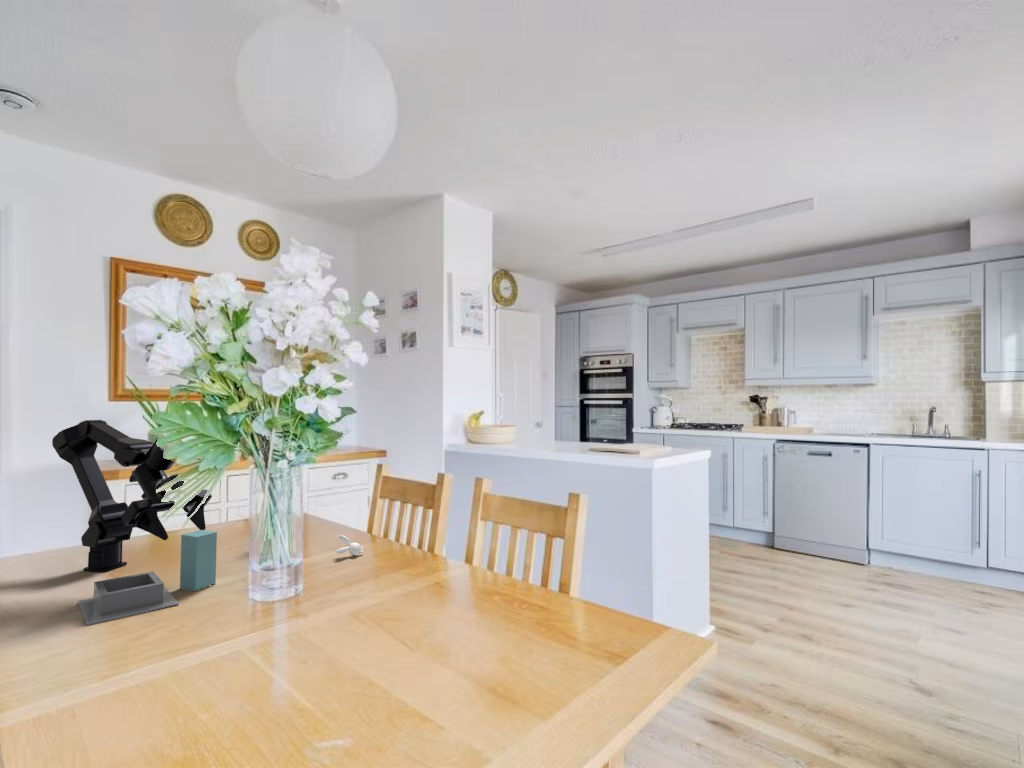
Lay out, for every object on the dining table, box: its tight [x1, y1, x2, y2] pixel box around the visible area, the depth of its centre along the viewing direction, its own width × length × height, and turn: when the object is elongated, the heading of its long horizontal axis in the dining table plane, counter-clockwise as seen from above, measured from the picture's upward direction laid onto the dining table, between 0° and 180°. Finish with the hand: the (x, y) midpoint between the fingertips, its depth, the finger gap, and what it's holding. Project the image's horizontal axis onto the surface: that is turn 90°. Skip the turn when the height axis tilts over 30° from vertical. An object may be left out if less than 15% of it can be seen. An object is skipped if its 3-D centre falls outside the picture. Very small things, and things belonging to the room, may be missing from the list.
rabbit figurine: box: [336, 534, 364, 556], centre depth 147 cm, size 6×4×8 cm
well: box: [77, 571, 179, 626], centre depth 111 cm, size 15×15×4 cm
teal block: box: [179, 529, 218, 592], centre depth 122 cm, size 5×5×12 cm
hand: (186, 534), depth 124 cm, fingers open, 9 cm apart
